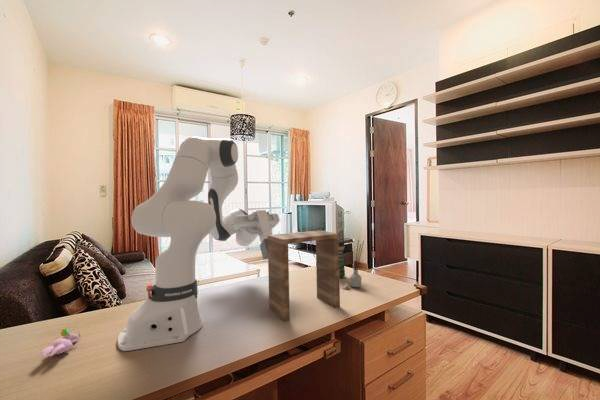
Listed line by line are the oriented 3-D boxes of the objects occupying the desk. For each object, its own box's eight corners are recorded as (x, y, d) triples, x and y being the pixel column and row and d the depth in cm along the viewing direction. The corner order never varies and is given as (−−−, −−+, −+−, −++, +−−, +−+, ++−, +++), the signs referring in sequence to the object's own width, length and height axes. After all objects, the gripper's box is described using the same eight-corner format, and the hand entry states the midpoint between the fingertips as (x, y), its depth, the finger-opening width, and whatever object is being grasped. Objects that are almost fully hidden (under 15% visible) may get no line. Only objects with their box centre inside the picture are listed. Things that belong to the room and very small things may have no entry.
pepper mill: (264, 262, 111) (268, 256, 106) (252, 215, 121) (255, 208, 117) (277, 260, 113) (282, 254, 109) (264, 214, 124) (268, 207, 119)
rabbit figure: (61, 346, 81) (30, 367, 67) (61, 323, 82) (31, 340, 68) (87, 342, 83) (62, 361, 69) (87, 320, 84) (63, 335, 70)
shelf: (284, 321, 91) (282, 239, 90) (269, 308, 101) (267, 235, 101) (339, 306, 101) (338, 233, 101) (321, 296, 112) (320, 230, 111)
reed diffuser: (360, 283, 127) (359, 238, 126) (371, 288, 120) (370, 240, 120) (341, 287, 122) (340, 240, 121) (351, 292, 116) (350, 243, 115)
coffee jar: (329, 280, 132) (329, 240, 132) (322, 275, 140) (321, 238, 139) (347, 277, 136) (347, 238, 136) (339, 273, 143) (338, 236, 143)
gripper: (228, 222, 126) (235, 207, 115) (271, 219, 135) (281, 205, 125) (230, 235, 123) (238, 221, 112) (274, 231, 133) (285, 218, 122)
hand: (261, 213), depth 119 cm, fingers closed on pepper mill, 4 cm apart
